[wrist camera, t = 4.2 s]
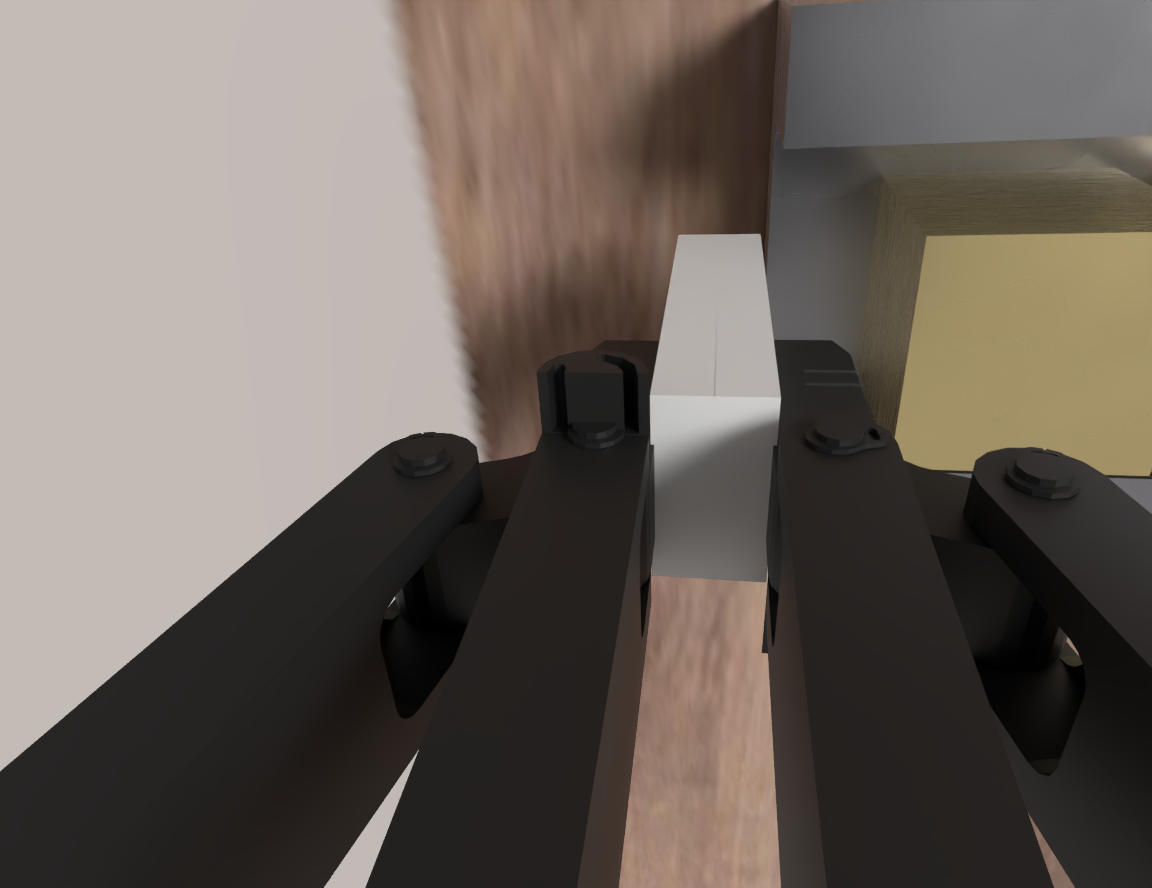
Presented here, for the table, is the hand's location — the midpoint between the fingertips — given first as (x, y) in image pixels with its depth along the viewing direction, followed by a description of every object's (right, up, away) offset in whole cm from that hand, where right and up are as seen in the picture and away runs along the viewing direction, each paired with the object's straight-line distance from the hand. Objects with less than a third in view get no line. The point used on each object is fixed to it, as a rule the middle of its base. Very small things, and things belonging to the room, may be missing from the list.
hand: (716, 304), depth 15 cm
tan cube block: (+5, +1, 0) cm, 5 cm away
